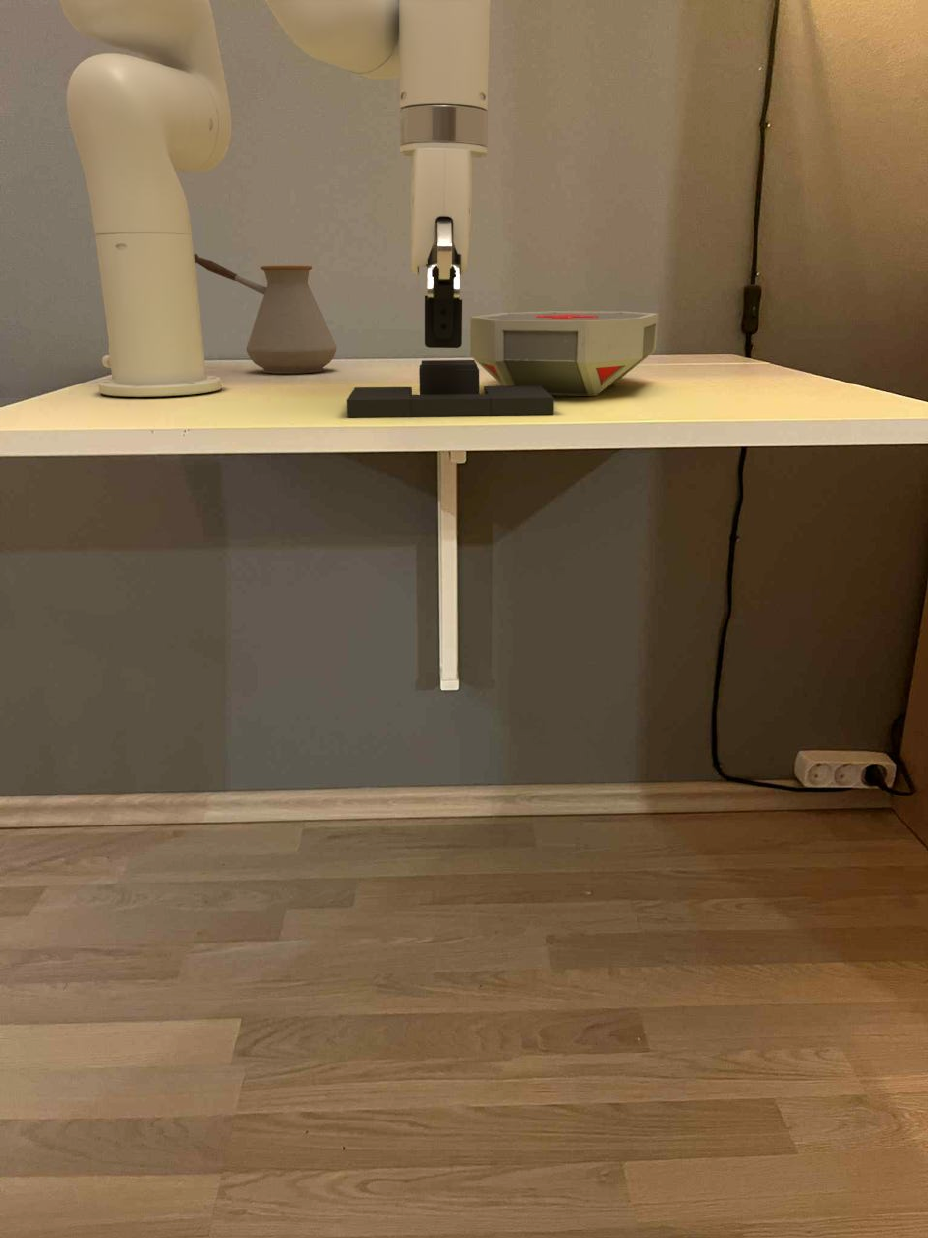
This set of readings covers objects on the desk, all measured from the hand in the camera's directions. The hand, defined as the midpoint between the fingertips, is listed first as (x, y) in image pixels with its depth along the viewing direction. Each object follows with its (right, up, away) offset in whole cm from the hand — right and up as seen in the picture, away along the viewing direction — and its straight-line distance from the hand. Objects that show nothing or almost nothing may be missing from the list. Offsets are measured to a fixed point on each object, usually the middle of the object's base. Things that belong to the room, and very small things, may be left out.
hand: (442, 343), depth 87 cm
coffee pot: (-25, +7, +38) cm, 46 cm away
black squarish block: (+1, -5, +2) cm, 6 cm away
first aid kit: (+13, -1, +15) cm, 20 cm away
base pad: (+1, -6, 0) cm, 6 cm away
